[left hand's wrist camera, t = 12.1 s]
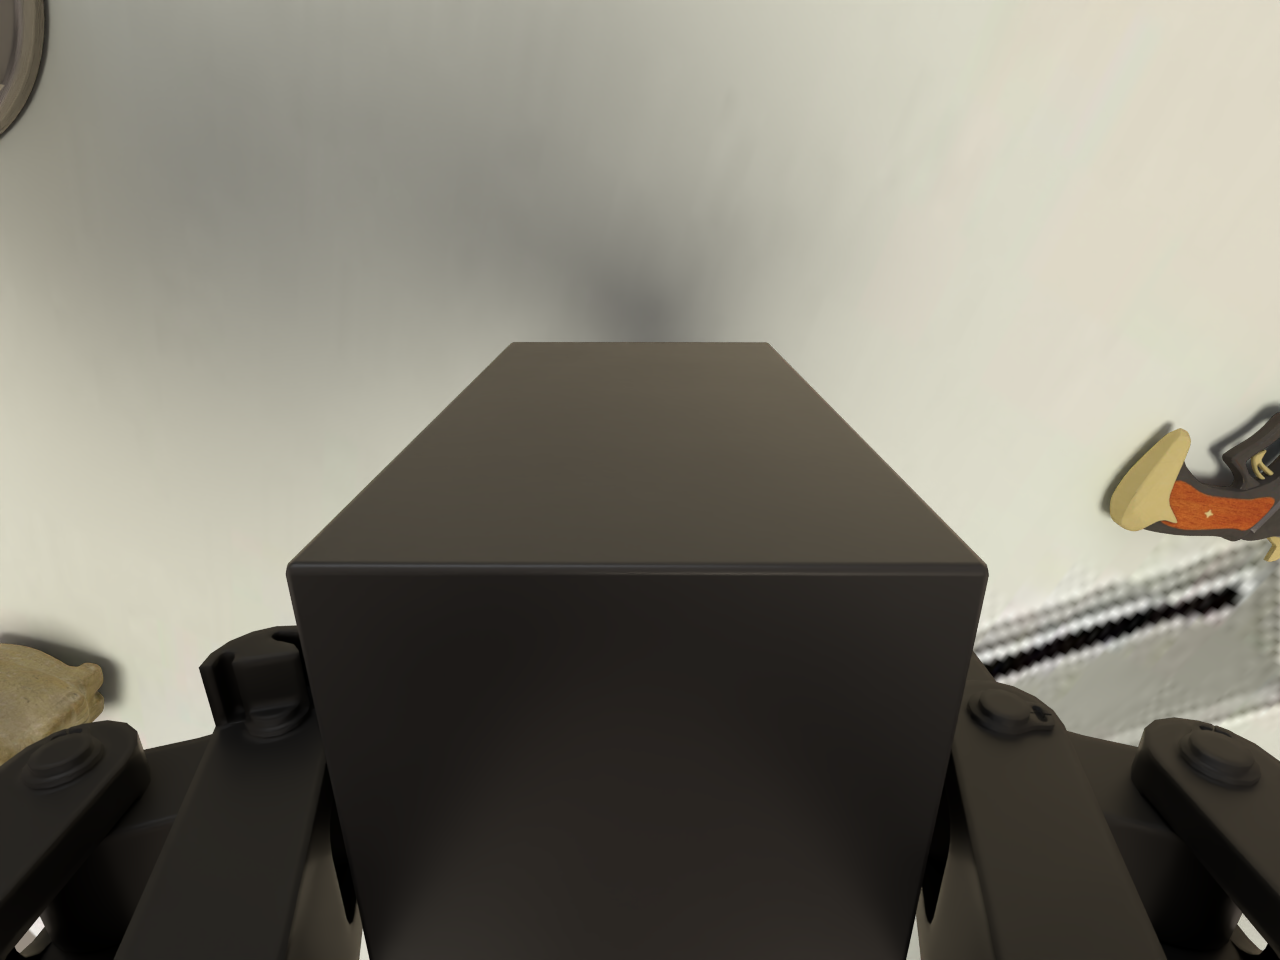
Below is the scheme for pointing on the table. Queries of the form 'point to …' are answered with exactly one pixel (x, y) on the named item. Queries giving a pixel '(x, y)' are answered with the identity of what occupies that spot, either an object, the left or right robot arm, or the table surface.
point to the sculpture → (43, 697)
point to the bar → (637, 667)
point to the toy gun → (1203, 493)
